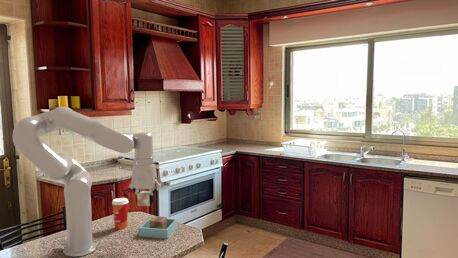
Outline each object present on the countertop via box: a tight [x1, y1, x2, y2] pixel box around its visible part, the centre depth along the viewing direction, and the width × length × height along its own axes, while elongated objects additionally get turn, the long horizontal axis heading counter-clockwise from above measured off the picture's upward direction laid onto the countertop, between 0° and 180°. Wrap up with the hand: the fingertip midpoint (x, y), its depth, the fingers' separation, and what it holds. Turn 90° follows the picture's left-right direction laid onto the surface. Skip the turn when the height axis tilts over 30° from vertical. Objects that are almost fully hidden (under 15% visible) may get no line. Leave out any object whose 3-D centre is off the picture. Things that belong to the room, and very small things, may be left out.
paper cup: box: [111, 197, 130, 230], centre depth 164 cm, size 8×8×14 cm
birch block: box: [136, 190, 151, 207], centre depth 147 cm, size 5×5×5 cm
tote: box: [138, 217, 178, 239], centre depth 159 cm, size 14×14×4 cm
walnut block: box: [150, 215, 168, 229], centre depth 159 cm, size 6×6×6 cm
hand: (145, 202), depth 147 cm, fingers closed on birch block, 4 cm apart
